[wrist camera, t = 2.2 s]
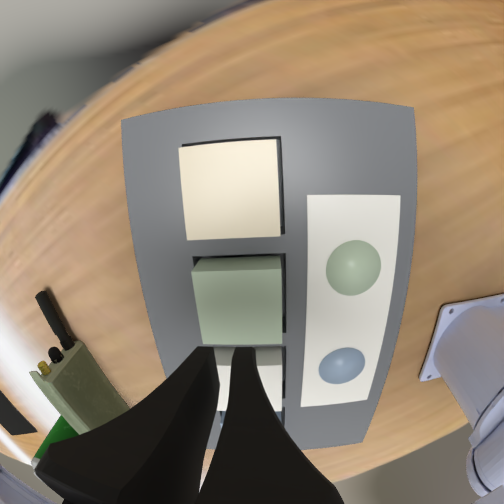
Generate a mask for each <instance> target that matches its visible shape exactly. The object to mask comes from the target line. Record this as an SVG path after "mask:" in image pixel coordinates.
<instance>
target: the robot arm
mask: <svg viewBox="0 0 504 504" xmlns="http://www.w3.org/2000/svg"><path fill="white" fill-rule="evenodd" d="M450 309H451V310H450ZM439 377H442V378H443V380H444V381H445V383H446V384H447V386H448V387H449V389H450V391H451V392H452V394H453V396H454V397H455V399H456V400H457V402H458V404H459V405H460V407H461V409H462V410H463V412H464V414H465V416H466V417H467V419H468V421H469V423H470V424H471V426H472V428H473V430H474V432H473V433H472V434H471V435H470V436H469V438H468V439H469V441H470V443H471V445H472V447H471V449H470V450H469V452H468V455H467V460H466V468H467V477H468V480H469V482H470V485H471V486H472V488H473V490H474V491H475V492H476V493H477V494H478V495H479V496H481V498H480V499H478V500H477V501H475V502H473V503H472V504H504V294H500V295H495V296H491V297H486V298H481V299H475V300H470V301H464V302H459V303H453V304H447V305H444V306H443V307H442V308H441V310H440V313H439V317H438V321H437V325H436V328H435V332H434V335H433V338H432V341H431V345H430V348H429V351H428V354H427V357H426V359H425V362H424V365H423V368H422V370H421V373H420V376H419V379H420V381H421V382H423V381H427V380H431V379H435V378H439ZM219 391H220V381H219V375H218V370H217V364H216V358H215V352H214V347H212V346H197V347H196V348H195V349H194V350H193V351H192V353H191V354H190V355H189V356H188V357H187V358H186V359H185V360H184V361H183V362H182V363H181V365H180V366H179V367H178V368H177V369H176V370H175V371H174V372H173V373H172V374H171V375H170V376H169V377H168V378H167V379H166V380H165V381H164V382H163V383H162V384H161V385H159V386H158V387H157V388H156V389H155V390H154V391H153V392H152V393H150V394H149V395H148V396H147V397H146V398H144V399H143V400H142V401H140V402H139V403H138V404H136V405H135V406H134V407H132V408H131V409H129V410H128V411H126V412H125V413H123V414H121V415H119V416H118V417H116V418H114V419H112V420H111V421H109V422H107V423H105V424H103V425H101V426H99V427H97V428H95V429H93V430H90V431H88V432H85V433H83V434H80V435H78V436H75V437H72V438H68V439H65V440H61V441H58V442H54V443H50V445H49V446H48V448H47V449H46V451H45V453H44V454H43V456H42V457H41V459H40V461H39V462H38V464H37V466H36V467H35V469H34V470H35V473H36V475H37V476H38V477H39V478H40V479H41V480H42V481H43V482H44V483H45V484H46V485H47V486H49V487H50V488H51V489H52V490H54V491H55V492H56V493H57V494H58V495H60V496H61V497H62V498H64V501H63V503H62V504H344V502H343V500H342V498H341V496H340V494H339V492H338V490H337V489H336V487H335V486H334V485H333V484H332V483H331V482H330V481H329V480H328V479H327V478H326V477H325V476H324V475H323V474H322V473H321V472H320V471H319V470H318V469H317V468H316V467H315V466H314V465H313V464H312V463H311V462H310V461H309V460H308V459H307V457H306V456H305V455H304V454H303V453H302V451H301V450H300V449H299V447H298V446H297V445H296V443H295V442H294V441H293V439H292V438H291V437H290V435H289V434H288V432H287V431H286V429H285V428H284V426H283V425H282V423H281V421H280V420H279V418H278V416H277V414H276V413H275V411H274V409H273V407H272V405H271V403H270V401H269V398H268V396H267V394H266V392H265V389H264V387H263V384H262V381H261V378H260V375H259V372H258V368H257V363H256V349H255V348H253V347H235V350H234V353H233V356H232V361H231V372H230V385H229V397H228V404H227V409H226V413H225V417H224V421H223V425H222V429H221V432H220V436H219V439H218V442H217V446H216V449H215V452H214V455H213V458H212V461H211V464H210V467H209V470H208V472H207V475H206V477H205V480H204V482H203V485H202V487H201V490H200V492H199V488H200V480H201V473H202V466H203V460H204V455H205V451H206V447H207V444H208V440H209V436H210V433H211V429H212V425H213V422H214V418H215V414H216V410H217V406H218V399H219ZM0 504H57V503H55V502H53V501H51V500H50V499H48V498H46V497H45V496H43V495H42V494H40V493H38V492H37V491H35V490H33V489H32V488H31V487H29V486H28V485H27V484H25V483H24V482H22V481H21V480H19V479H18V478H17V477H15V476H14V475H13V474H11V473H10V472H9V471H8V470H6V469H5V468H4V467H2V465H1V464H0Z"/></svg>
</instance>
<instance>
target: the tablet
mask: <svg viewBox="0 0 504 504" xmlns="http://www.w3.org/2000/svg"><path fill="white" fill-rule="evenodd" d="M0 424H1V425H2V426H3V427H4V428H5V429H6V430H7V431H8V432H9V433H10V434H11V435H20V434H27V433H34V432H38V431H37V429H36V428H35V427H34V426H33V425H32V424H31V423H30V422H29V421H28V420H27V419H26V418H25V417H24V416H23V415H22V414H21V413H20V412H19V411H18V410H17V409H16V408H15V407H14V405H13V404H12V403H11V402H10V401H9V400H8V399H7V397H6V396H5V395H4V394H3V393H2V392H1V390H0Z"/></svg>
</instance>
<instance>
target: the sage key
mask: <svg viewBox="0 0 504 504" xmlns="http://www.w3.org/2000/svg"><path fill="white" fill-rule="evenodd" d="M191 274H192V281H193V287H194V294H195V300H196V306H197V312H198V318H199V324H200V330H201V335H202V341H203V344H222V345H255V344H282V275H281V261H280V256H255V257H227V258H200V260H199V261H198V263H197V264H196V266H195V267H194V268H193V270H192V271H191Z"/></svg>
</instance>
